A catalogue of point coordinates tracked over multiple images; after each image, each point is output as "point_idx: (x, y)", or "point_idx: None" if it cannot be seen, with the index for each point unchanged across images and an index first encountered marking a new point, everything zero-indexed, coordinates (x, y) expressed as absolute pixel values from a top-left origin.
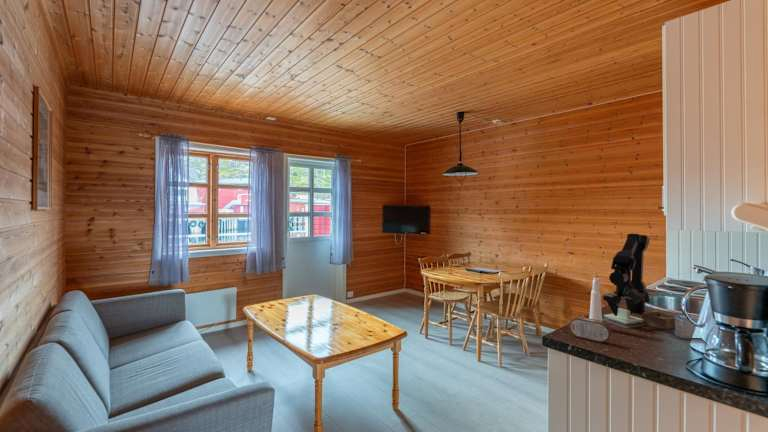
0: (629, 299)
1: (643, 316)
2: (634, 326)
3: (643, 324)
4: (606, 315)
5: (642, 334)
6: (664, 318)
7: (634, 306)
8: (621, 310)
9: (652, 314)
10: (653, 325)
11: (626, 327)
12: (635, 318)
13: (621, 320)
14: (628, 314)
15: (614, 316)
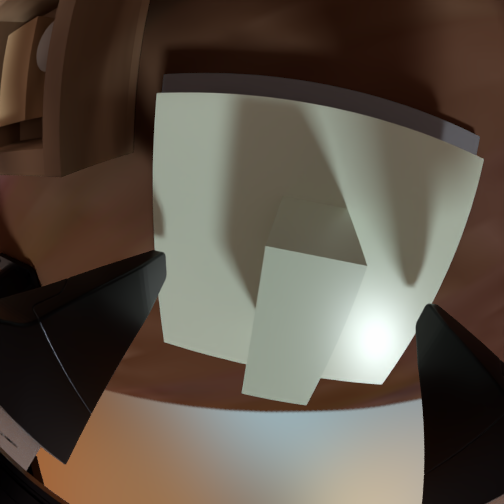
0: (37, 425)
1: (88, 147)
2: (372, 95)
3: (196, 87)
4: (391, 369)
5: (487, 4)
6: (7, 78)
7: (57, 286)
8: (328, 347)
9: (8, 149)
10: (139, 41)
11: (471, 138)
12: (215, 158)
13: (467, 217)
14: (322, 226)
15: (367, 327)
